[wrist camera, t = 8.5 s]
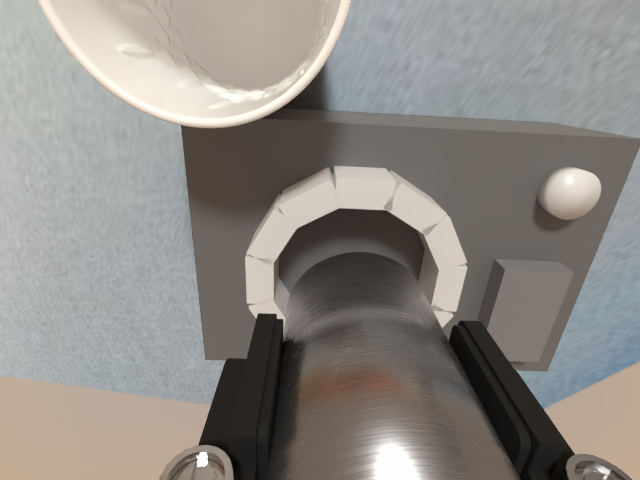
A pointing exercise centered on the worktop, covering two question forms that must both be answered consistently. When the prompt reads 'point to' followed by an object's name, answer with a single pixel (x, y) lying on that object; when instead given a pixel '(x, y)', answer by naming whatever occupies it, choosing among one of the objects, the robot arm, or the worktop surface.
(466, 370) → the robot arm
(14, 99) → the worktop surface
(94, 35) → the white cup
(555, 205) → the camera body
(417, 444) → the shiny metal cylinder
